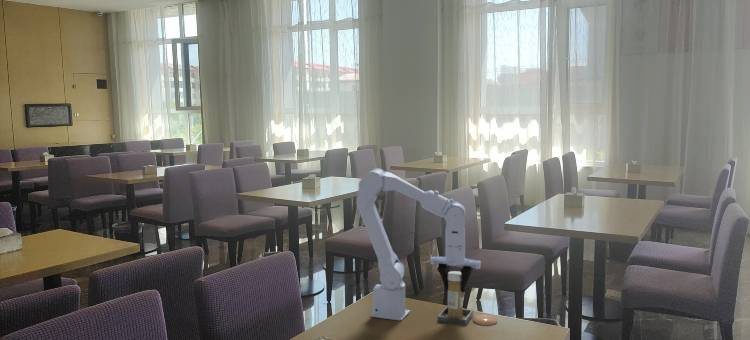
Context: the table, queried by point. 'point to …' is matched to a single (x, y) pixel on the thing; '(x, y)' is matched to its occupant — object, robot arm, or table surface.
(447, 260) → the robot arm
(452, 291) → the sprinkles bottle
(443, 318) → the square socket
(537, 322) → the table surface
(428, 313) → the table surface
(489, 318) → the terracotta coaster
